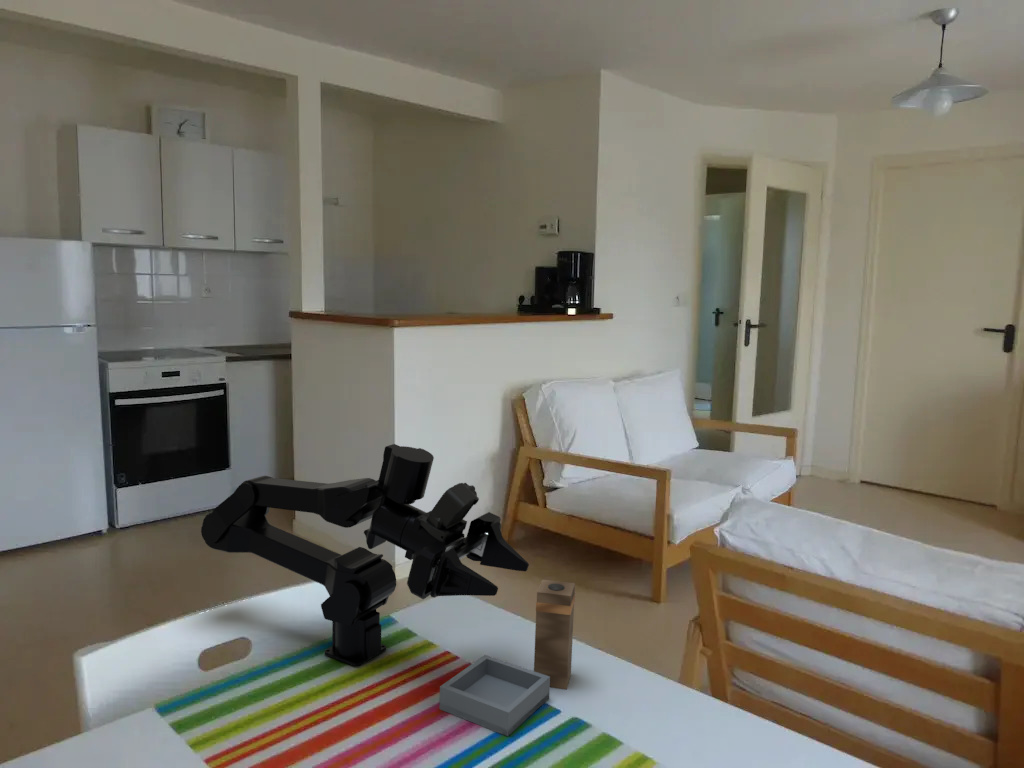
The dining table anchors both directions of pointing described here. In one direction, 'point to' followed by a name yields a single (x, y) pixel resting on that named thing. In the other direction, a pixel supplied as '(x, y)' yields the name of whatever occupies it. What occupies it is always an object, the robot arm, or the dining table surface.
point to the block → (554, 631)
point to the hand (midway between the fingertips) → (512, 579)
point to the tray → (495, 694)
